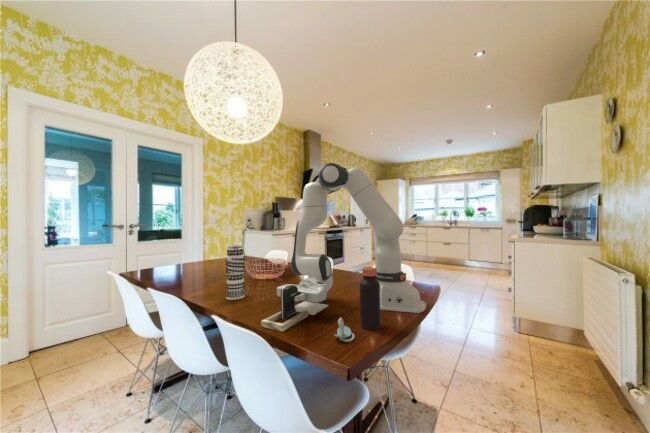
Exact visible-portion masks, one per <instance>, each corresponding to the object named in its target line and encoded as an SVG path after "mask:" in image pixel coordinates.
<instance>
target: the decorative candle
mask: <svg viewBox="0 0 650 433" xmlns="http://www.w3.org/2000/svg"><path fill="white" fill-rule="evenodd" d="M244 255H245V254H244V247H243V246H242V245H241V244H231V245H229V246H228V247H227V248H226V259H225V261H224V262H225V266H226V267H225V274H226V275H227V276H226V283H225V285H226V287H225V289H226V290H225V292H226V293H225V296H226V297H225V298H226V300H229V301H232V300H233V301H234V300H241V299H243V298H245V294H246V292H245V291H246V289H245V288H244V287H245V284H246V282H245V279H244V274H245V267H246V266H245V264H246V263H245V262H244V261H246V256H244Z"/></svg>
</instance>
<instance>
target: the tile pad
mask: <svg viewBox="0 0 650 433" xmlns="http://www.w3.org/2000/svg"><path fill="white" fill-rule="evenodd" d="M328 307H329V304H326V303H320V302H319V303H315V302H310V301H304V300H303V301H302V302H300V303H298V304H296V305H295V310H296V313H301V312H303V311H308V315H310V316H314V315H316V314H318V313H320V312H321V311H323V310H324V309H325V308H328Z"/></svg>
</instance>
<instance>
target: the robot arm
mask: <svg viewBox="0 0 650 433" xmlns="http://www.w3.org/2000/svg"><path fill="white" fill-rule="evenodd" d="M342 188H343V189H345V190H346V191H347V192H348V193H349V195H350V196H351V198H352V199H353V201H354V202H355V204H356V206H358V208H359V209H360V211H361V213H362V214H363V215H364V217H366V219H367V221H368V222H369V223H370V225H371V226H372V227H373V228H372V229H373V243H374V261H375V262H374V266H375V267H374V268H376V269H377V275H376V276H377V277H376V280H377V281H378V282H379V284H380V310H381V311H393V312H403V313H414V314H420V313H423V312H424V311H426V309H427V303H426V302H425V301H424V300H421V296H420V295H421V294H420V291H419V290H418V289H417V287H415V286H414V285H412V284H411V283H410V282H409V281H407V272H403V271H402V252H401V247H400V241H399V238H400V237H401V236H402V235H403V232H404V223H403V221H402V220H401V218H400V217H399V216H398V214H397V213H396V212H395V210H394V209H393V208H392V207H391V205H390V204H389V203H388V202H387V201H386V199H385V198H384V197H383V195H382V194H381V192H380V191H379V189H378V188H377V187H376V185H375V184H374V182H373V181H372V179H371V178H370V177H369V176H368V175H367V173H365V171H364V170H362V169H361V168H360V167H356V166H355V167H350V168H349V169H347V168H346V167H343V166H341V165H340V164H338V163H335V162H327V163H325V164H323V165H322V166H321V168H320V169H319V171H318V180H316V181H312V182H308V183H307V184H305V186H304V187H303V192H302V211H301V212H302V213H301V216H300V218H299V220H297V222H296V225H295V226H296V227H295V234H294V242H293V243H294V244H293V250H292V251H293V252H292V258H291V260H290V261H291V262H290V269H291V270H292V272H293V273H294V275H296V276H299V277H300V276H301V277H302V276H303V277H304V276H309V277H306V278H305V279H302V280H300V282H299V283H298V284H292V283H291V284H290V283H289V284H283V285H280V286H277V287H276V296H277V297H280V298H281V289H282V287H284V286H287V285H295V286H297V288H298V296H296V295H295V296H293V301H295V303H296V302H299V301H303V302H304V301H308V302H313V303H319V304H320V303H322V302H323V301H326V300H327V296H328V295H327V294H328V291H329V290H330V289H331V288H332V286H333V283H334V279H333V276H332V263H331V261H330V259H329V257H328V256H327V255H326V254H322V253H306V243H307V237H308V234H309V233H310V232H311V231H312V230H314V229H316V228H318V227H320V226H322V225H323V224H324V223H325V222H326V220H327V218H328V202H327V201H328V195H329V194H332V193H336V192H337V191H339V190H341V189H342Z"/></svg>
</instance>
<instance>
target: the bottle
mask: <svg viewBox="0 0 650 433" xmlns="http://www.w3.org/2000/svg"><path fill="white" fill-rule="evenodd" d="M361 271H362V274H361V275H362V277H363V278H362V280H361V281H360V282H359V312H360V313H359V317H360V318H359V319H360V322H359V326H360V327H361V328H362V329H364V330H366V331H377V330H379V329H380V328H381V309H380V284H379V282H378V281H377V280H376V277H377V276H376V275H377V269H376V268H375V267H371V266H370V267H369V266H368V267H363V268H362V270H361Z"/></svg>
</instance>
